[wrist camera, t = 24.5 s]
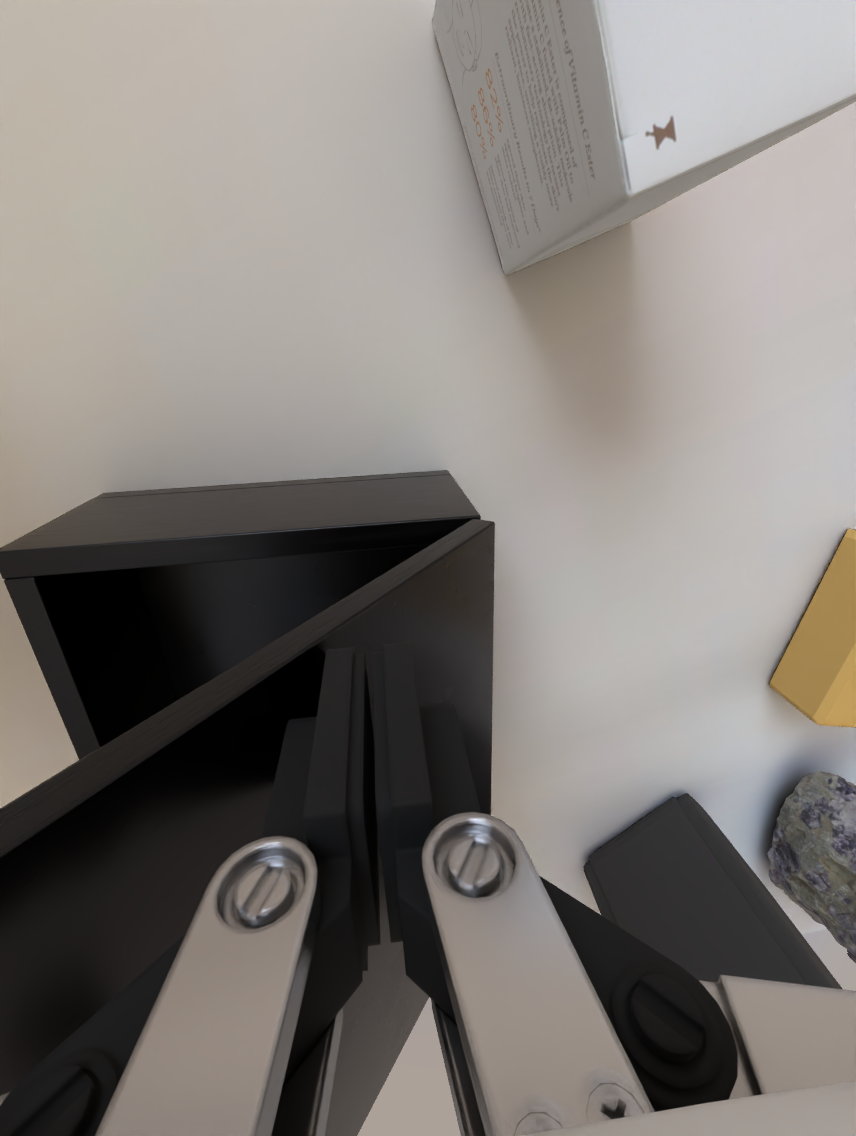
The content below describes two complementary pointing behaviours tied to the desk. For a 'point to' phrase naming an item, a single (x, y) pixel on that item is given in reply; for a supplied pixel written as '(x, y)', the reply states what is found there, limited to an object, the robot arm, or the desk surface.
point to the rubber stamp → (825, 647)
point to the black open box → (203, 581)
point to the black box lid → (226, 817)
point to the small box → (629, 101)
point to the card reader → (698, 900)
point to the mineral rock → (819, 853)
